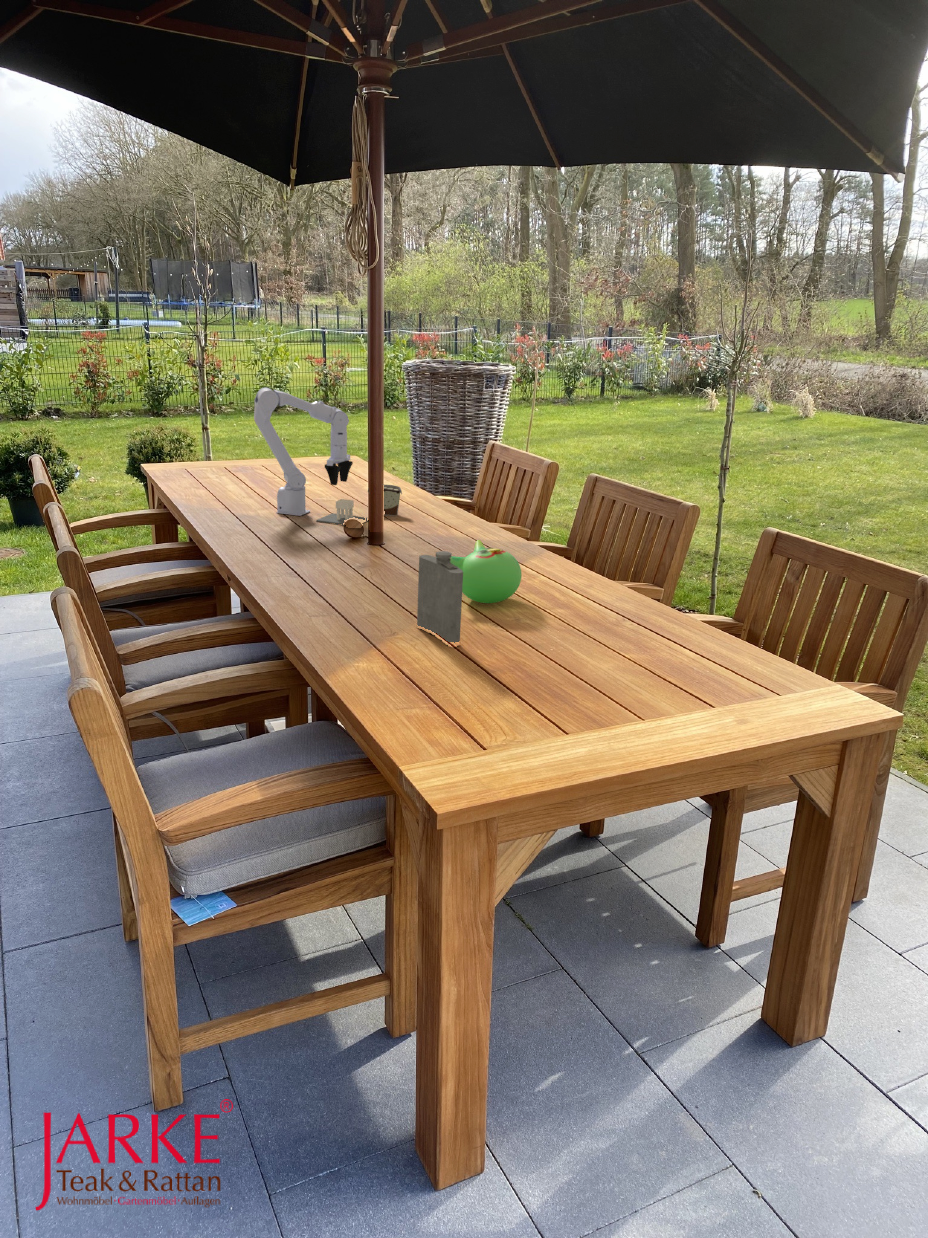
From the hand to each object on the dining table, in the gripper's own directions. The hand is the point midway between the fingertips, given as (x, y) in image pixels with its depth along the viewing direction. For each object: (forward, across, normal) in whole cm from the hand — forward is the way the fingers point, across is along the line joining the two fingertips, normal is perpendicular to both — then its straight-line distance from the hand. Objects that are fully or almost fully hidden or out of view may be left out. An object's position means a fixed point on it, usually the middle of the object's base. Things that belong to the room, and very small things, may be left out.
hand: (338, 483), depth 319 cm
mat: (+10, -12, -8) cm, 17 cm away
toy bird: (+11, -73, -80) cm, 108 cm away
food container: (+11, +7, -16) cm, 20 cm away
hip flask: (+11, -103, -78) cm, 129 cm away
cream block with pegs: (+10, -12, -8) cm, 17 cm away
